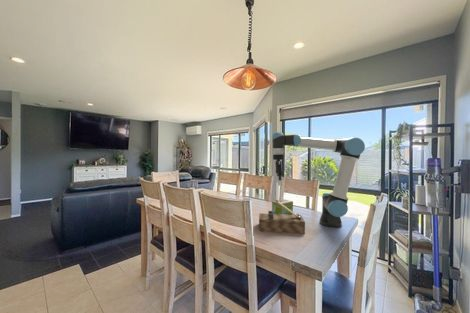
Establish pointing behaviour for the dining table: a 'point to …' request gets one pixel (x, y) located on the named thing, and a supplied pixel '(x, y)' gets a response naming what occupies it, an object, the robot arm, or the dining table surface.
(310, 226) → the dining table surface
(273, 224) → the walnut chest
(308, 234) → the dining table surface
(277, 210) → the tea box
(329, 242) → the dining table surface
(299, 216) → the latch bar
